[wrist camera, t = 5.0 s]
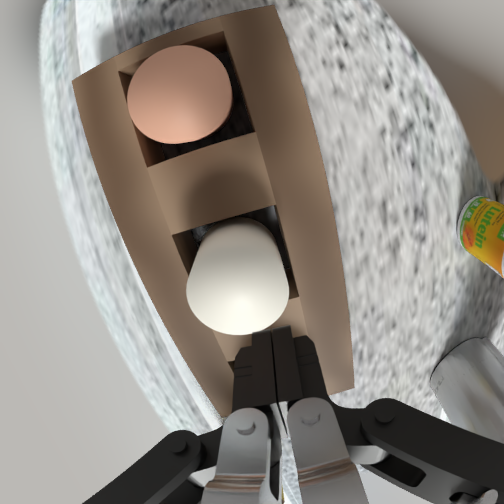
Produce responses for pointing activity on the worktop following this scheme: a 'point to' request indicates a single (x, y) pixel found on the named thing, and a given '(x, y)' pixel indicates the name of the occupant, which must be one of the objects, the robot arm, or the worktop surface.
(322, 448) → the robot arm
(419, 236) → the worktop surface
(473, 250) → the supplement bottle
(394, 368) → the worktop surface
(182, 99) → the button terracotta
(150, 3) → the worktop surface
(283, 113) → the panel
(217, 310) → the button cream
